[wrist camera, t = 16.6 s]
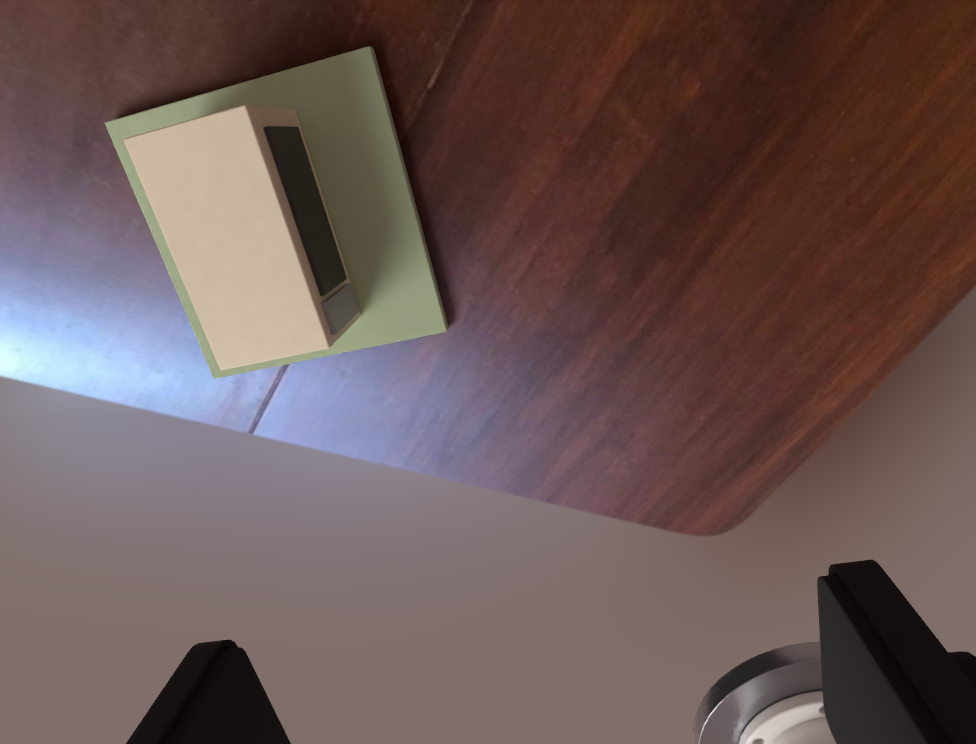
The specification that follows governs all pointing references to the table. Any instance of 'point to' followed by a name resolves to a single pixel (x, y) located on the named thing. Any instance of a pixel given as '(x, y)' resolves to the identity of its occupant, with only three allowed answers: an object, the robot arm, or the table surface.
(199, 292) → the toy oven
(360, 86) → the mat
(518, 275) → the table surface
